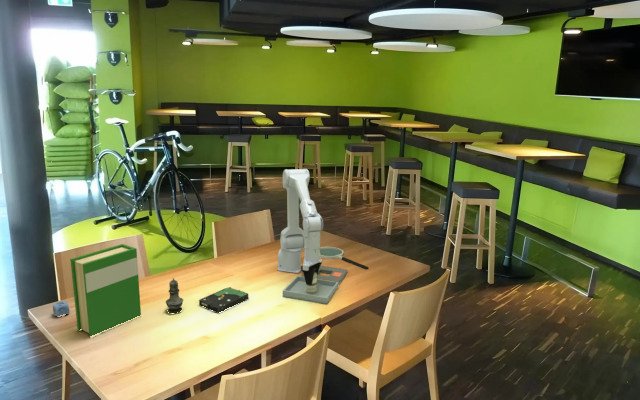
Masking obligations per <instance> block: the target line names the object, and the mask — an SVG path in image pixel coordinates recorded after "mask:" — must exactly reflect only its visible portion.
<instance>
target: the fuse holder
mask: <svg viewBox="0 0 640 400" xmlns="http://www.w3.org/2000/svg"><path fill="white" fill-rule="evenodd" d="M348 270H349V269H346V268H340V267H335V266H334V267H333V266H326V265H321V266H320V268H319V271H318V275H317V279H322V280H328V281H334V282H338V286H339V285H340V284H341V282H342V281H343V279H344V278H345V277H346V276H347V274H348ZM320 273H322V274H320ZM324 274H327V275H324ZM300 276H302V277H304V274H303V273H302V274H301V275H300Z"/></svg>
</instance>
